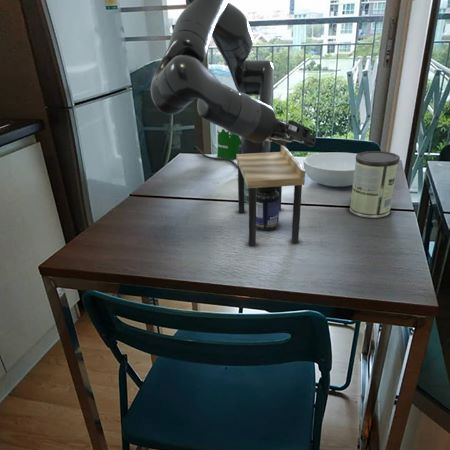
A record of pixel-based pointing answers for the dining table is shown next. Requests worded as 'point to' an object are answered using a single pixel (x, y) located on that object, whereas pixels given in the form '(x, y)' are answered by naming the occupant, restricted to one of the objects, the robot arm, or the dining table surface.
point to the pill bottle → (267, 208)
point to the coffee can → (373, 183)
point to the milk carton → (227, 144)
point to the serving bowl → (331, 168)
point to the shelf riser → (269, 183)
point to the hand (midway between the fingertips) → (299, 141)
